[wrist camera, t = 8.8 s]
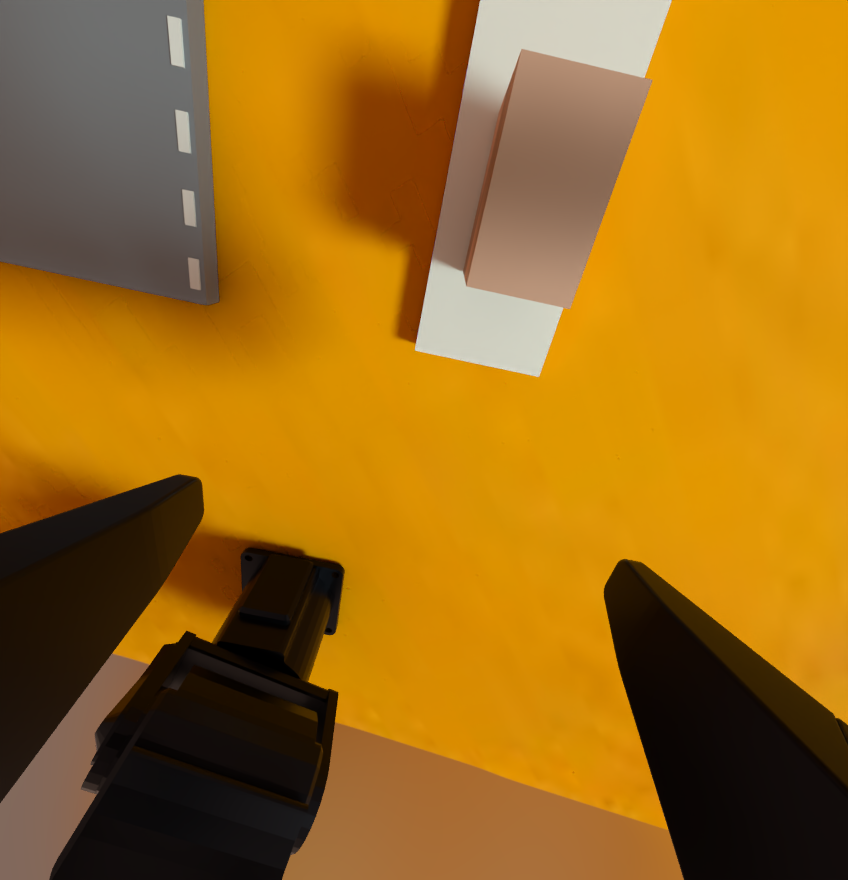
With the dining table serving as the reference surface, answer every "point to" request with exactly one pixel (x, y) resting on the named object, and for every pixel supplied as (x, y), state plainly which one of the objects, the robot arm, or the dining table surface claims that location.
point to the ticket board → (108, 144)
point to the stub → (533, 171)
